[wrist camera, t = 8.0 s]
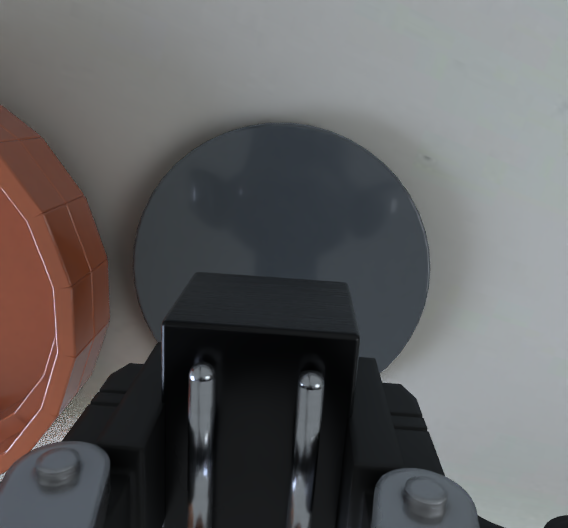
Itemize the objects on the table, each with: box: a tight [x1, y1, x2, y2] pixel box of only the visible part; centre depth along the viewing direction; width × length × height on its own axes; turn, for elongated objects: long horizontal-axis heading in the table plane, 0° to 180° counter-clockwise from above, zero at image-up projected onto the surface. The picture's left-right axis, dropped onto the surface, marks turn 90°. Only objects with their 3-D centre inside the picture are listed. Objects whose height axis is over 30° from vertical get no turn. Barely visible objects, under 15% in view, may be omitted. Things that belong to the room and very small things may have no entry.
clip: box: [161, 272, 361, 528], centre depth 10 cm, size 5×3×3 cm, turn 177°
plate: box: [133, 123, 430, 373], centre depth 18 cm, size 10×10×1 cm
